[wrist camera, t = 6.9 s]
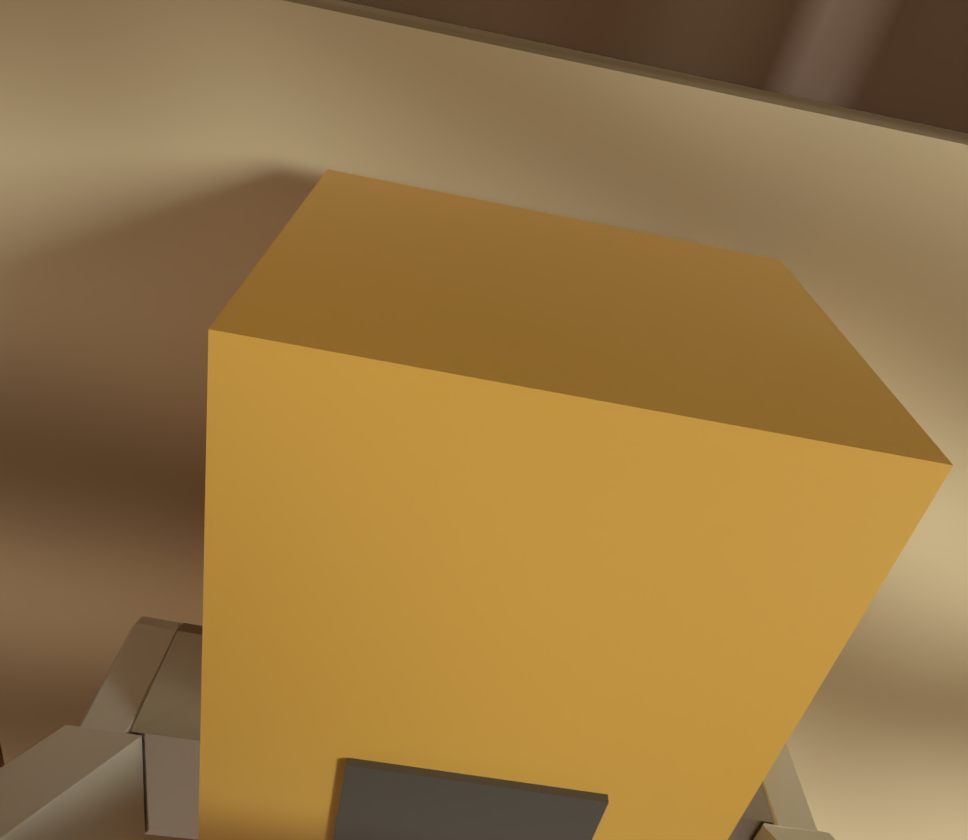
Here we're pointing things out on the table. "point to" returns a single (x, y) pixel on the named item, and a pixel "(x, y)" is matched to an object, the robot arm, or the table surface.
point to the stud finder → (526, 525)
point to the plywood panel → (460, 171)
